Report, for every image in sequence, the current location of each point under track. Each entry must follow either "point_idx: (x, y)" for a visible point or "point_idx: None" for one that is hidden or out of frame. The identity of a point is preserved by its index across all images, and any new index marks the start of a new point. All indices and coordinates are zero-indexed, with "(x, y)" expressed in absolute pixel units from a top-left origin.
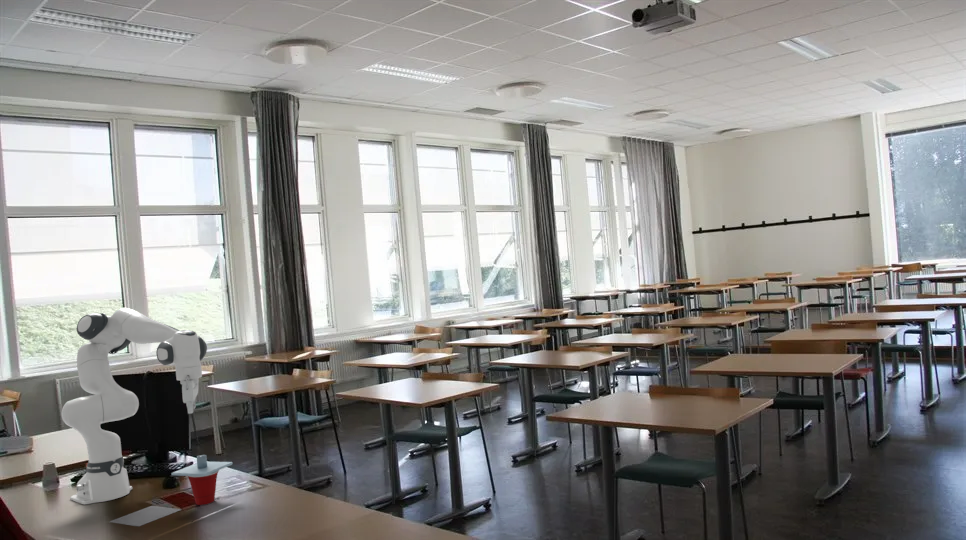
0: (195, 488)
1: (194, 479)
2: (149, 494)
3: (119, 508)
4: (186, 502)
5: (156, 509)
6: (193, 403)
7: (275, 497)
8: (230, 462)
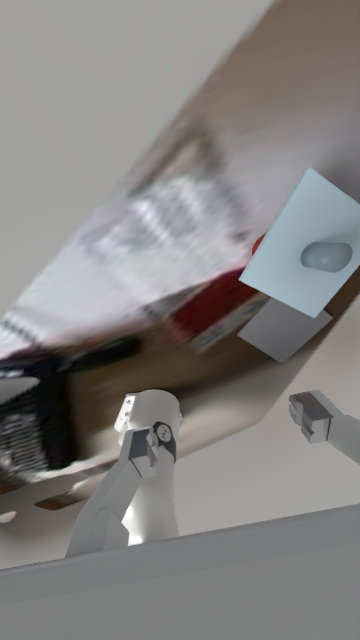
0: None
1: None
2: (164, 362)
3: (217, 374)
4: (237, 289)
5: (262, 322)
6: (132, 469)
7: (314, 65)
8: (309, 173)
